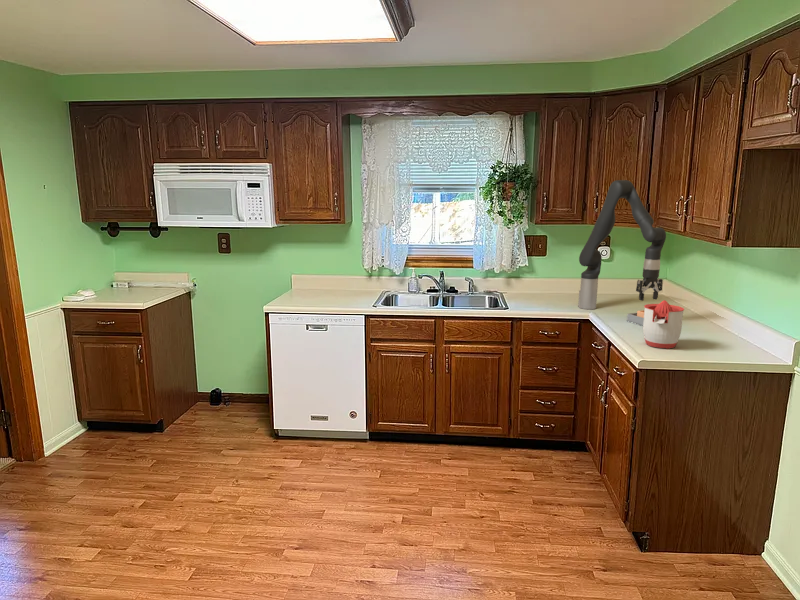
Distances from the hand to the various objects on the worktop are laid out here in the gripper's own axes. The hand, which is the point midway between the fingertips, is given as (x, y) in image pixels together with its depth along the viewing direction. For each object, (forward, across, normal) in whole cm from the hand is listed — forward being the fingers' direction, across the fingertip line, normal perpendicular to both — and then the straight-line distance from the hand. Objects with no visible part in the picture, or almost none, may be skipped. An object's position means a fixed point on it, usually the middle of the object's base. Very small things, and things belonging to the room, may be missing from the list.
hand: (648, 299), depth 282 cm
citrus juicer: (+12, +26, +36) cm, 46 cm away
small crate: (+11, 0, 0) cm, 11 cm away
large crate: (+12, 0, 0) cm, 12 cm away
